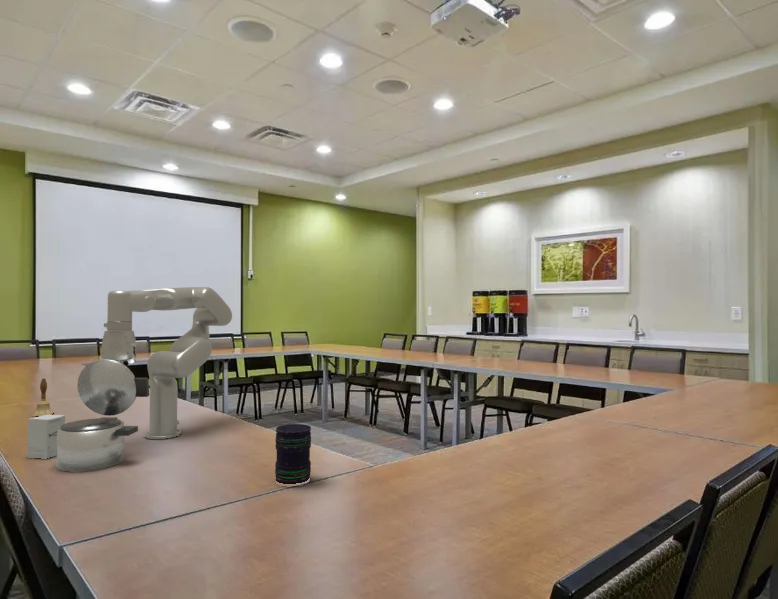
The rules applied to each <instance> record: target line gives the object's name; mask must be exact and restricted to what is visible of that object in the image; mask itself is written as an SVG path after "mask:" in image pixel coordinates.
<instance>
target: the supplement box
mask: <svg viewBox="0 0 778 599" xmlns="http://www.w3.org/2000/svg"><path fill="white" fill-rule="evenodd" d="M27 421H28V423H27V425H28V428H27V430H28V431H27V458H28V459H34V458H41V459H40V460H48V459H50V457H51V458H53V457H57V428H58V427H60V426H61V425H63V424H66V414H65V415H63V414H53V415H43V416H39V417H31V418H28V419H27ZM47 458H48V459H47Z"/></svg>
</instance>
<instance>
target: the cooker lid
mask: <svg viewBox="0 0 778 599" xmlns="http://www.w3.org/2000/svg"><path fill="white" fill-rule="evenodd" d="M76 384H77V392H78V395H79V398H80V400H81V401H82V403H83V404H84V405H85V406H86V407H87V408H88V409H89V410H91V411H92V412H94V413H96V414H98V415H102V416H107V417H111V416H117V415H120V414H122V413H124V412H125V411H127V410H128V409H129V408H131V407H132V405H133V404H134V402H135V401H136V399H137V398H148V397H150V379H149V377H135V375H134V373H133V371H131V369H130V368H129V367H128V366H125V365H124V364H122V363H121V362H120V361H116V360H112V359H102V358H101V359H97V360H94V361H92V362H90V363H89V364H87V365H86V366H84V368H82V370H81V371H80V373H79V375H78V379H77V383H76Z"/></svg>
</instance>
